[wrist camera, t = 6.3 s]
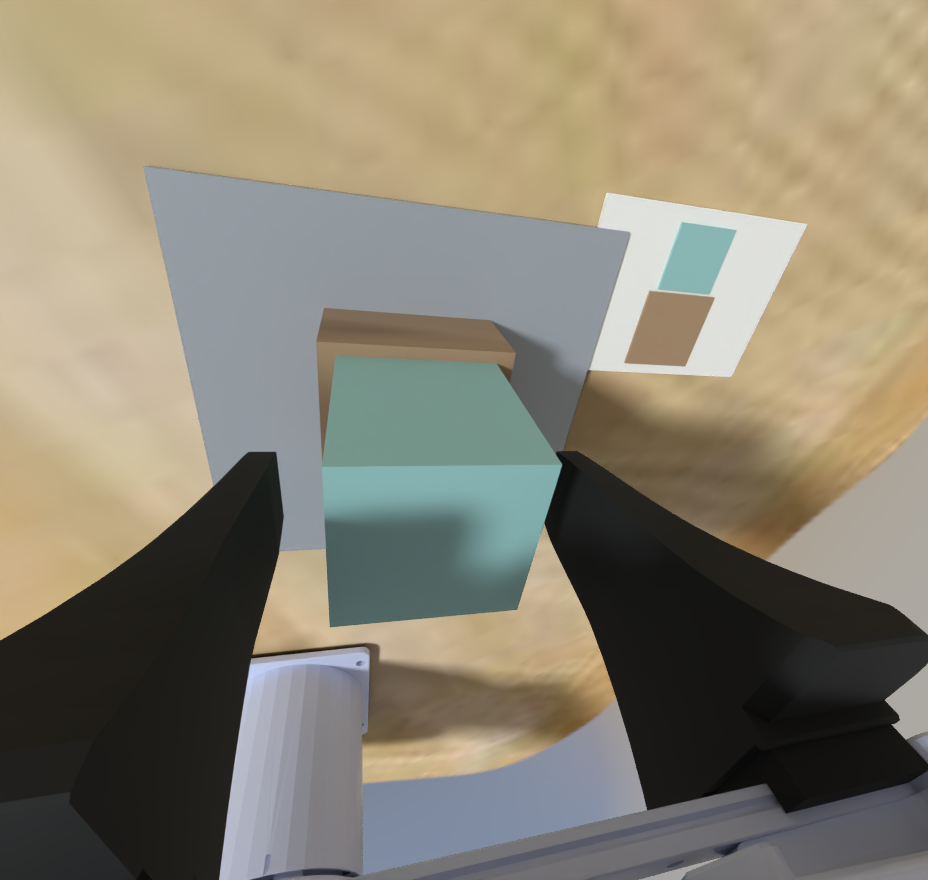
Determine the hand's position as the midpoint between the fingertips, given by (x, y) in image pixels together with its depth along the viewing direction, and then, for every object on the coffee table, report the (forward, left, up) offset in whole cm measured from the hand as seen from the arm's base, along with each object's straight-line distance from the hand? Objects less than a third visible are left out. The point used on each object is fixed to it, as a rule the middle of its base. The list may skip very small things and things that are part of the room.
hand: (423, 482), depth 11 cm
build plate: (-1, 0, -6) cm, 6 cm away
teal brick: (0, 0, -2) cm, 3 cm away
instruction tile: (+4, -10, -6) cm, 12 cm away
